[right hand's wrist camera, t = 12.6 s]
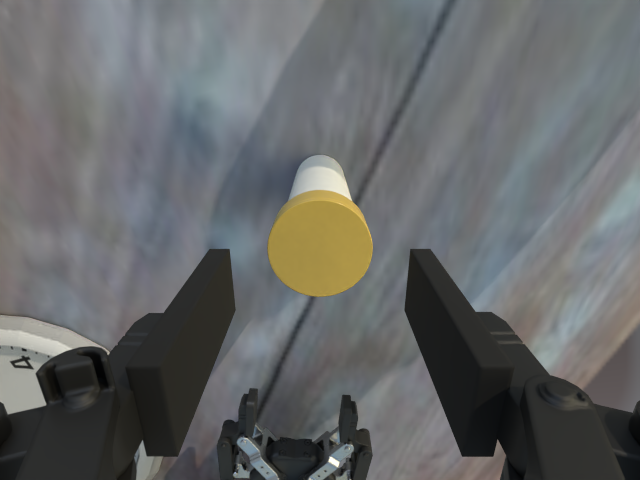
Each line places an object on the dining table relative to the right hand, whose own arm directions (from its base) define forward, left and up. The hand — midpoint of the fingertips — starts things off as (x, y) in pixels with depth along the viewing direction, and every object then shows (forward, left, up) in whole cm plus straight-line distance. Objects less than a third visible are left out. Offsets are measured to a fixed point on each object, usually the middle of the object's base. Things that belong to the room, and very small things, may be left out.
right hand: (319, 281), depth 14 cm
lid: (0, 0, -3) cm, 3 cm away
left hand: (+3, +18, -13) cm, 22 cm away
